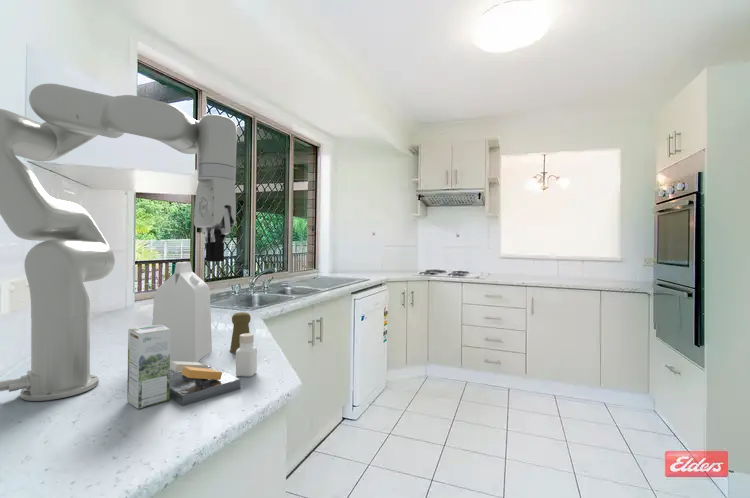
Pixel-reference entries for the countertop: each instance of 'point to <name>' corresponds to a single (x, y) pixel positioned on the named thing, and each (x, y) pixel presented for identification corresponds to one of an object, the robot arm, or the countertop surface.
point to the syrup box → (148, 365)
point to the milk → (185, 314)
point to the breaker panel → (200, 387)
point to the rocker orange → (201, 373)
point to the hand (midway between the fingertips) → (214, 261)
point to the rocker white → (186, 365)
